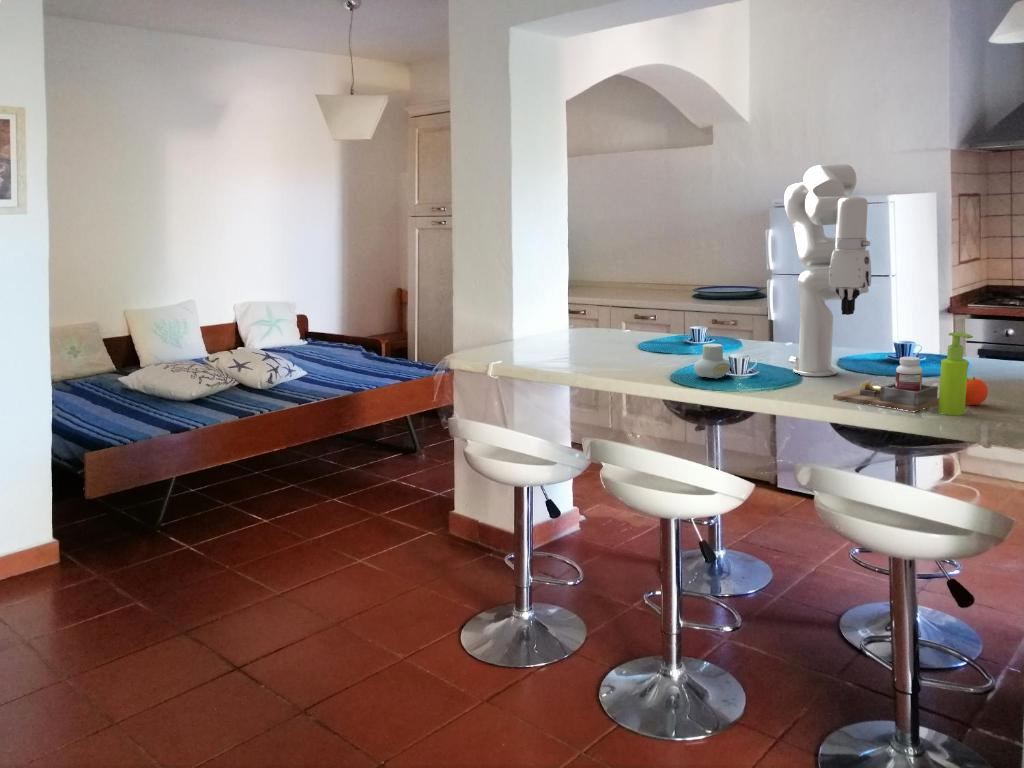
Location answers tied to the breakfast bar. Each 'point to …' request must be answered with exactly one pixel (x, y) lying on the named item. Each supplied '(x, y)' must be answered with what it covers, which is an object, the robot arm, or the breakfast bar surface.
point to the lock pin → (870, 386)
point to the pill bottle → (909, 374)
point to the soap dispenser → (953, 378)
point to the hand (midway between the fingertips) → (847, 314)
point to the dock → (893, 397)
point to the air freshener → (712, 362)
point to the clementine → (975, 391)
